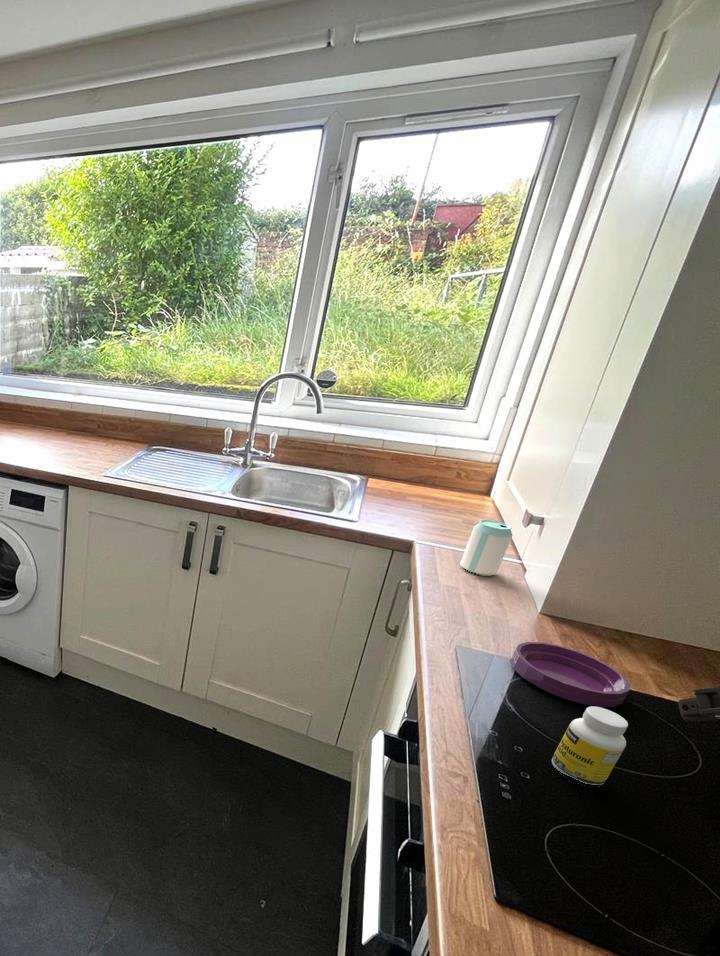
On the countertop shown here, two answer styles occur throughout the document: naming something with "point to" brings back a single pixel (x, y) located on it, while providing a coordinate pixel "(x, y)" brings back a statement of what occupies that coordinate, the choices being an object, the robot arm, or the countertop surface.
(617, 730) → the supplement bottle
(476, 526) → the can
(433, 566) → the countertop surface
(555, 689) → the dish
